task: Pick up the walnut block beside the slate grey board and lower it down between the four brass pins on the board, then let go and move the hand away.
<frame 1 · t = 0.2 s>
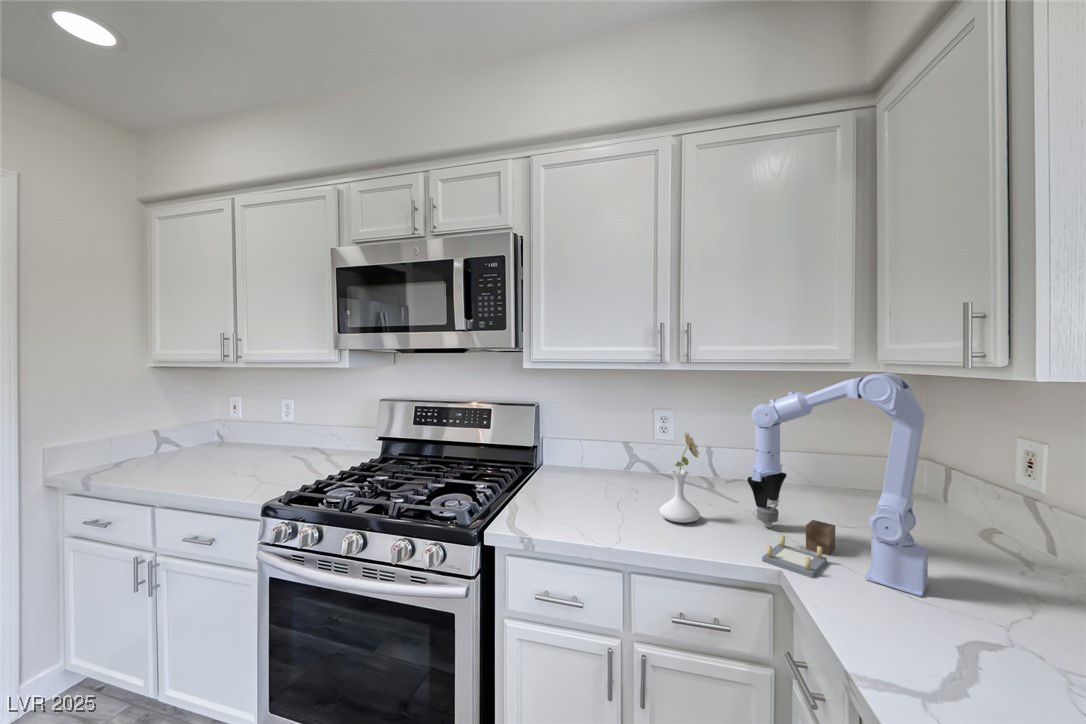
hand: (767, 503, 114), 10 cm above the worktop, tool pointing down, fingers open, 7 cm apart
walnut block: (820, 549, 110), on the worktop
standoff board: (794, 561, 103), on the worktop
light bulb: (767, 528, 123), on the worktop
flower in vase: (680, 518, 130), on the worktop
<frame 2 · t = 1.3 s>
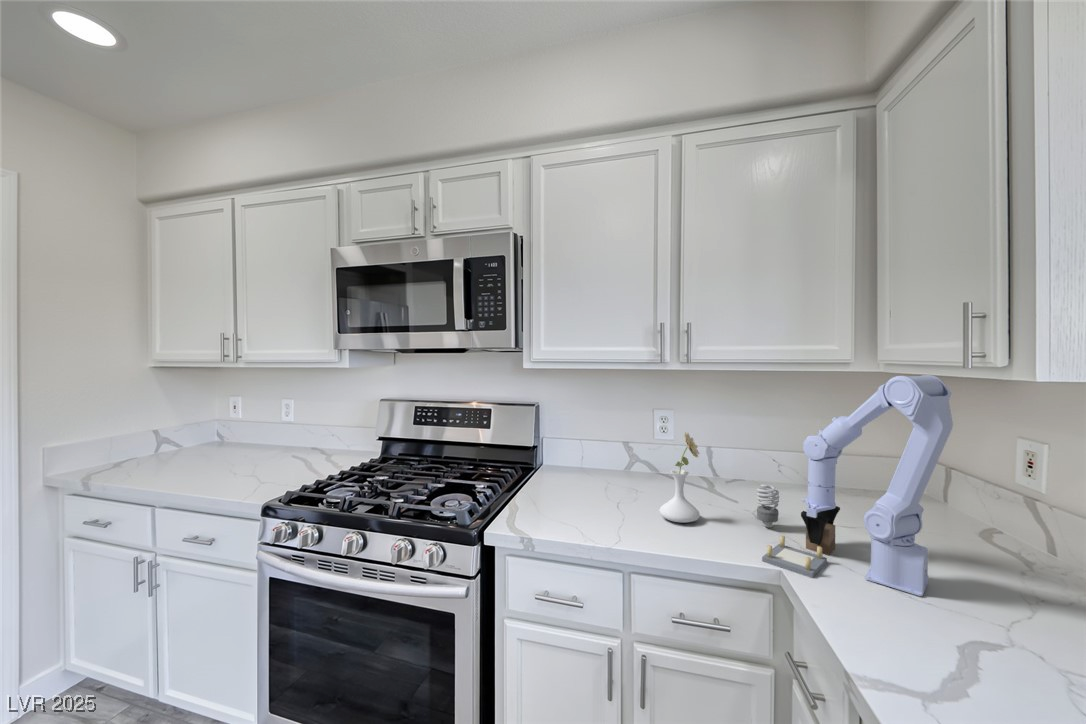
hand: (820, 538, 110), 2 cm above the worktop, tool pointing down, fingers open, 7 cm apart
nothing on the worktop moved.
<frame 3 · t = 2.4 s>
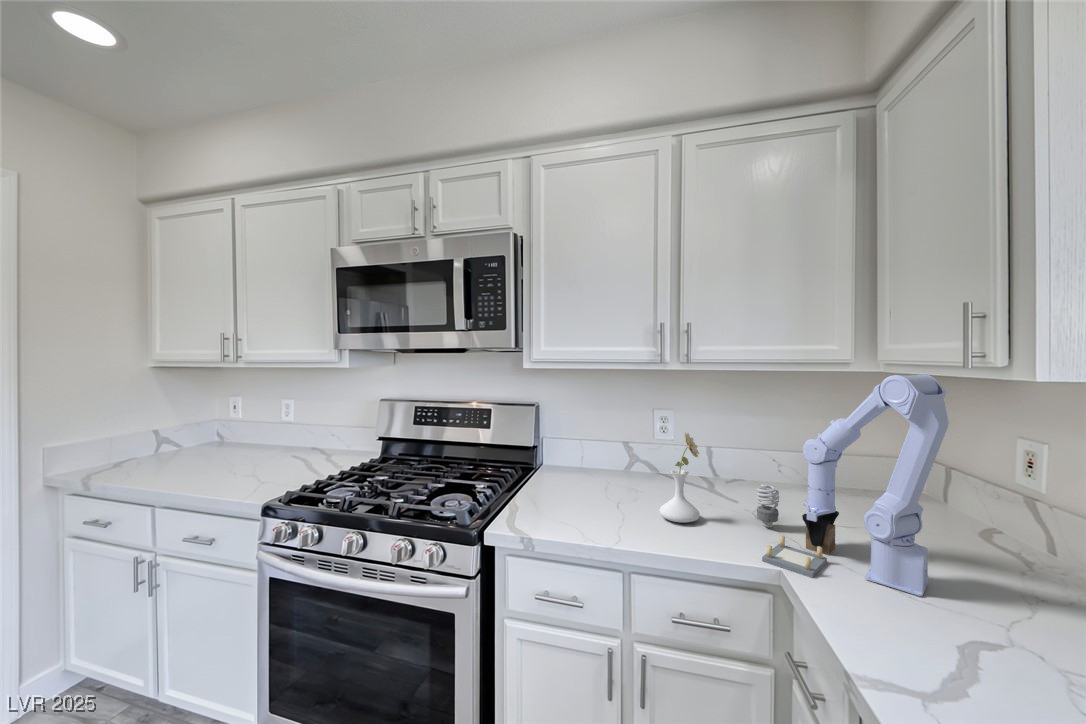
hand: (820, 542, 110), 2 cm above the worktop, tool pointing down, fingers closed on walnut block, 5 cm apart
walnut block: (820, 548, 110), on the worktop, touching gripper
everything else where it was.
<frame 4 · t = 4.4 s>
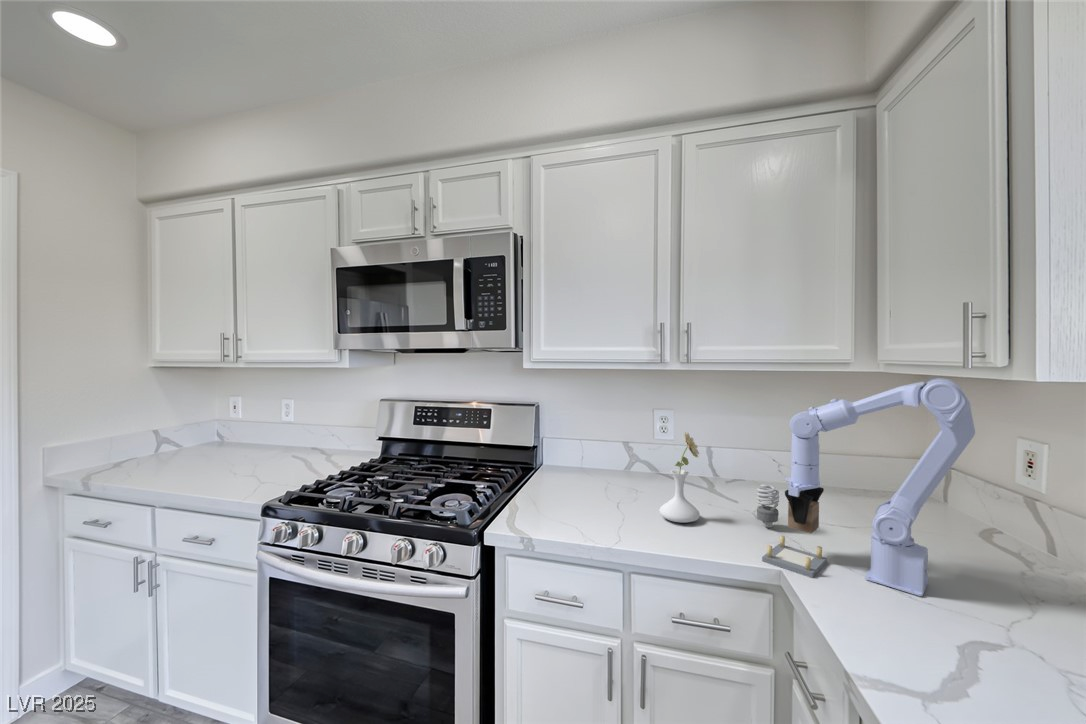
hand: (803, 519, 105), 9 cm above the worktop, tool pointing down, fingers closed on walnut block, 5 cm apart
walnut block: (803, 527, 106), point 7 cm above the worktop, touching gripper
everything else where it was.
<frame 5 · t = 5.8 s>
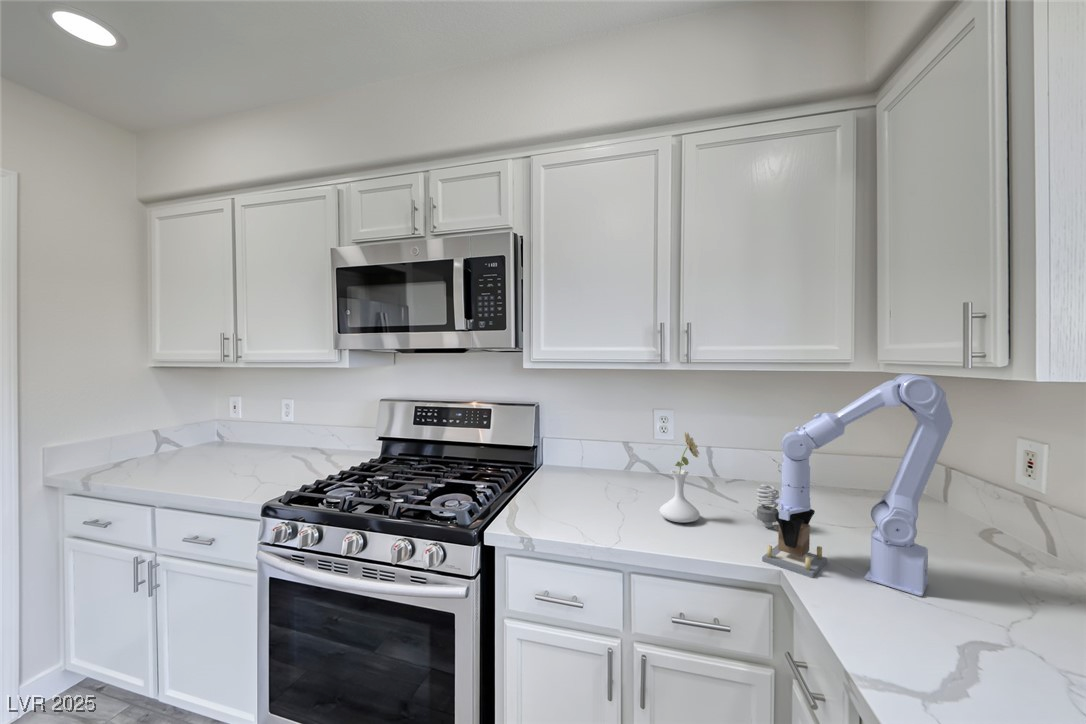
hand: (794, 542, 103), 4 cm above the worktop, tool pointing down, fingers closed on walnut block, 5 cm apart
walnut block: (793, 550, 103), point 3 cm above the worktop, touching gripper
everything else where it was.
when the fingers open (4 cm above the worktop, at t = 6.8 s): walnut block drops 1 cm, resting on standoff board.
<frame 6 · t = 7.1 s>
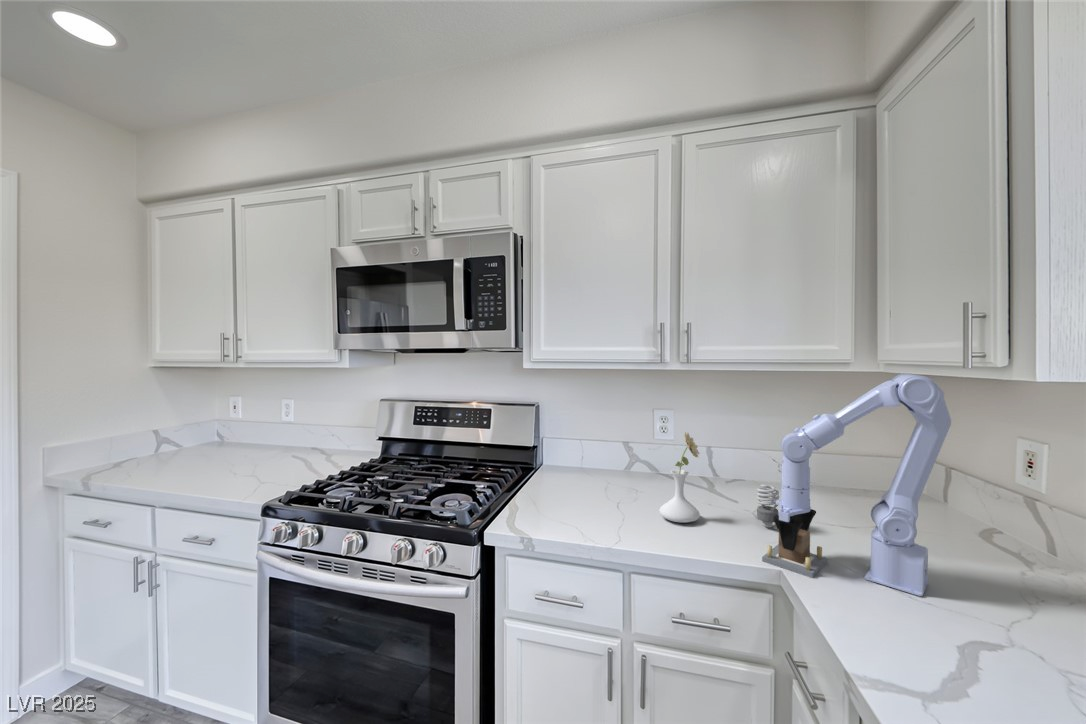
hand: (794, 544, 103), 4 cm above the worktop, tool pointing down, fingers open, 7 cm apart
walnut block: (794, 556, 103), point 1 cm above the worktop, touching standoff board
everything else where it was.
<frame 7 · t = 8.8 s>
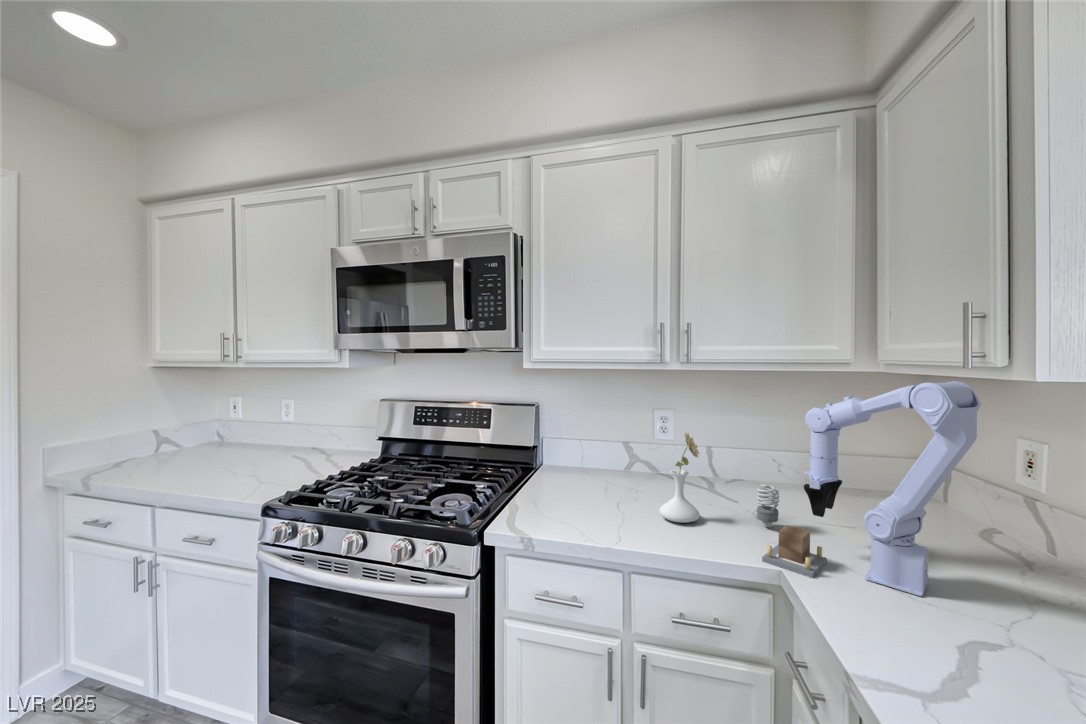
hand: (822, 511, 109), 9 cm above the worktop, tool pointing down, fingers open, 7 cm apart
nothing on the worktop moved.
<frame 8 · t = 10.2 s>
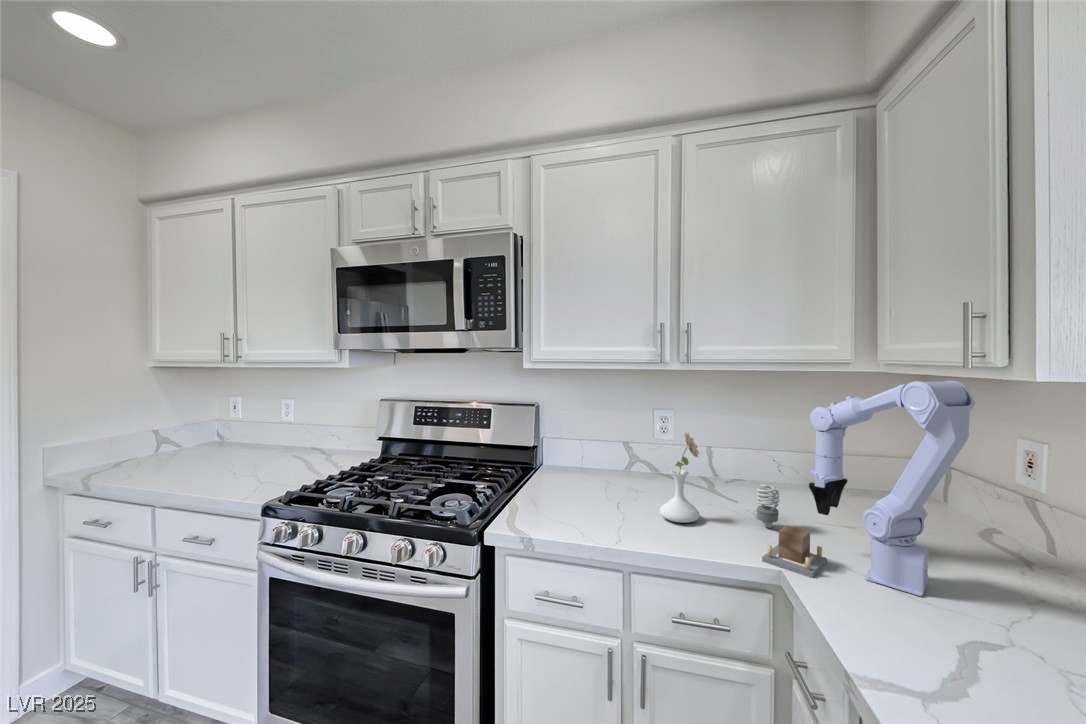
hand: (828, 510, 110), 9 cm above the worktop, tool pointing down, fingers open, 7 cm apart
nothing on the worktop moved.
at the end: walnut block 0.1 cm off-centre on the standoff board, point 1.1 cm above the standoff board's base; walnut block tilted 0°; the gripper is holding nothing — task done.
